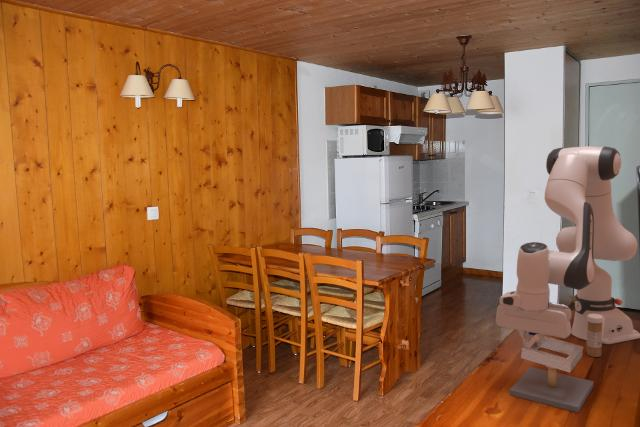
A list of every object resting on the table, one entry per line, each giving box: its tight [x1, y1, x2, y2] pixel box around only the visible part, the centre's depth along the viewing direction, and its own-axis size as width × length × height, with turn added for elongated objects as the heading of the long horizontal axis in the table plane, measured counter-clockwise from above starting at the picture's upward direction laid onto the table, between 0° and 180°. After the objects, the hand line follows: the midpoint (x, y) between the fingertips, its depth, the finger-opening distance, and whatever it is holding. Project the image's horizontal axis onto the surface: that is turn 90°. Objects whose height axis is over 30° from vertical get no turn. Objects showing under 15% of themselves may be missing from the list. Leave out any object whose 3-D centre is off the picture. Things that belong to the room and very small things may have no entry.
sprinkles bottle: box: [586, 314, 603, 358], centre depth 175 cm, size 5×5×14 cm
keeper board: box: [509, 365, 595, 413], centre depth 153 cm, size 18×18×8 cm
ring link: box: [520, 334, 584, 373], centre depth 152 cm, size 13×13×3 cm
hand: (531, 346), depth 155 cm, fingers closed on ring link, 2 cm apart
